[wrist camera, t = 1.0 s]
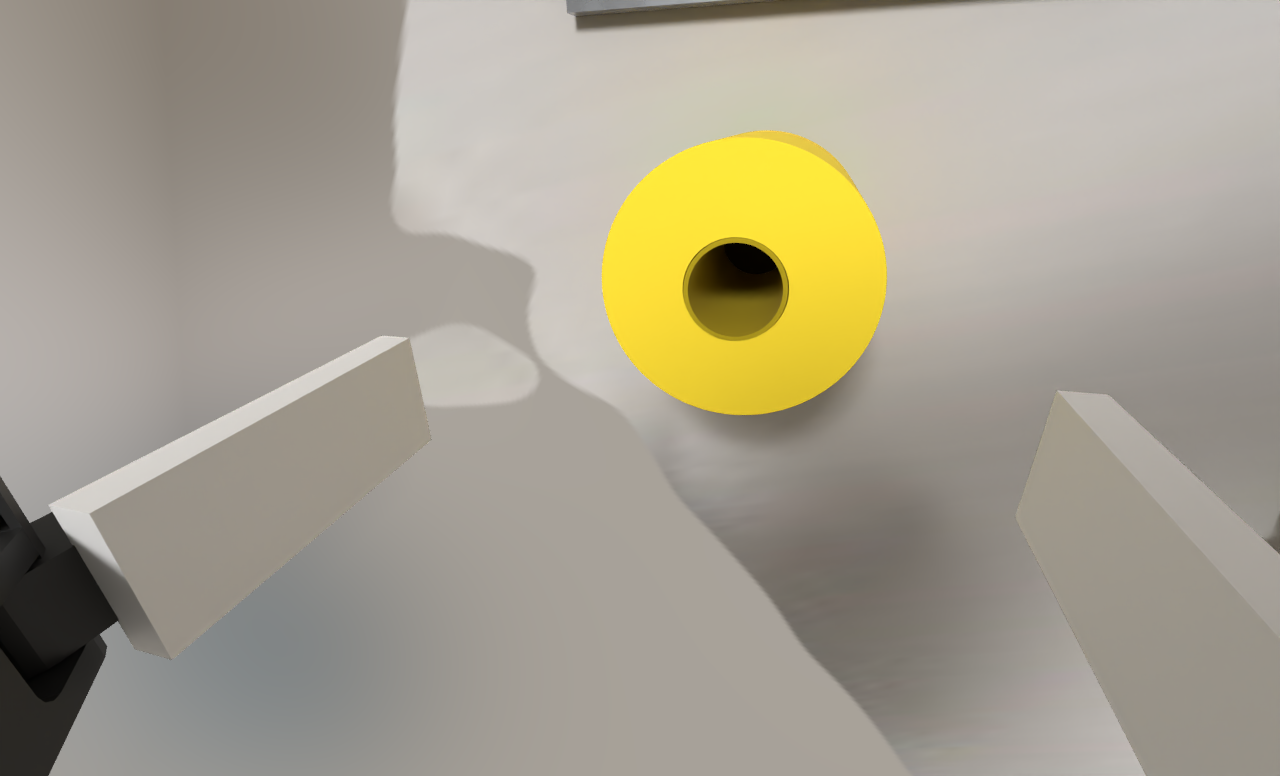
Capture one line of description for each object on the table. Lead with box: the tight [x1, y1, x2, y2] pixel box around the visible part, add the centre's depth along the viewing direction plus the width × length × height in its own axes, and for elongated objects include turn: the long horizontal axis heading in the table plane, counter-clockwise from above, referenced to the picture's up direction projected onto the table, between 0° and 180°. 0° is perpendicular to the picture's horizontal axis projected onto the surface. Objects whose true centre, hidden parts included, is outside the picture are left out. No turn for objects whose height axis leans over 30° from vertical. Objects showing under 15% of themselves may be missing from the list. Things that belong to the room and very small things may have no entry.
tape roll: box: [602, 131, 887, 415], centre depth 24 cm, size 10×10×9 cm
